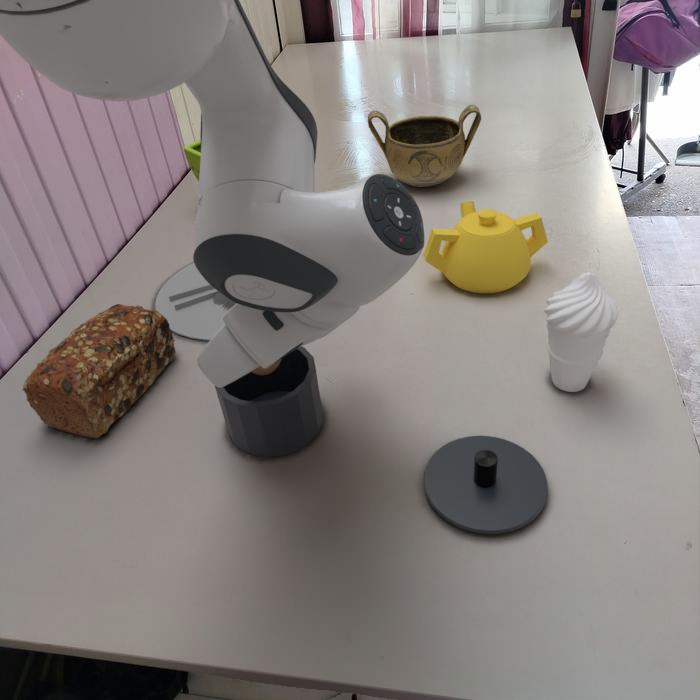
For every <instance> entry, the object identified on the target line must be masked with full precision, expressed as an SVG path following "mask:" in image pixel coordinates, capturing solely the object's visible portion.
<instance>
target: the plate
mask: <svg viewBox="0 0 700 700" xmlns="http://www.w3.org/2000/svg"><path fill="white" fill-rule="evenodd" d="M234 304H235V302H233V301H232V300H230V299H229V298H227V297H226V296H224V295H223V294H221V293H220V292H219V291H217V290H216V289H215V288H214V287H212V286H211V285H210V284H209V283H208V282H207V281H206V280H205V279H204V277H203V276H202V275H201V274H200V272H199V271H198V269H197V268H196V266H195V264H194V262H192V263H190V264H188V265H186V266H185V267H183V268H181V269H180V270H179V271H178V272H176V273H175V274H173V275H172V276H171V277H170V278H169V279H168V280H167V281H166V282H165V283H164V284H163V285H162V287H161V288H160V289H159V291H158V293H157V295H156V299H155V302H154V308H155V309H154V310H156V311H158V312H159V313H161V314H162V315H163V316H164V317H165V318H166V319H167V321H168V323H169V325H170V326H169V328H170V330H171V331H172V333H174V334H176V335H179V336H182V337H184V338H188V339H193V340H197V341H205V342H209V341H210V340H211V338H212V337H213V336H214V335H215V333H216V332H217V331H218V330H219V329H220V328H221V327H222V326H223V325H224V324H225V322H224V320H223V315H224V314H225V313H226V312H227V311H228V310H229V309H230V308H231V307H232V306H233V305H234Z"/></svg>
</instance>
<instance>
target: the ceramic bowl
mask: <svg viewBox="0 0 700 700" xmlns="http://www.w3.org/2000/svg"><path fill="white" fill-rule="evenodd" d="M473 113H474V114H475V116H474V119H473V121H472V124H471V125H470V128H469V130H468V132H467V136H466V135H465V131H464V122H465V120H466V119H467V117H468V116H469V115H471V114H473ZM374 118H378V119H379V120H380V121H381V122H382V123H383V125H384V127H385V137H384V141H383V139H382V137H381V135H380V134H379V132H378V130H377V129H376V127H375V125H374V123H373V121H372V119H374ZM481 121H482V114H481V111H480V109H479V107H478V106H477V105H475V104H469V105H467V106H465V108H464V109H463V110H462V111H461V112H460V115H459V117H458V121H457V120H456V119H453V118H450V117H446V116H441V115H418V116H412V117H407V118H402V119H400V120H397V121H395V122H394V123H393V122H392V123H391V124H390V125H389V120H388V118H387V117H386V116H385V114H384V113H382V112H381V111H379V110H371V111H370V112H369V113H368V116H367V125H368V129H369V131H370V132H371V134H372V135H373V137H374V139H375V140H376V142H377V144H378V146H379V147H380V149H381V151H382V153H383V155H384V156H385V159H386V161H387V164H388V167H389V169H390V171H391V173H392V174H393V175H394V176H395V177H396V179H398V181H401V182H402V183H404V184H406V185H409V186H411V187H416V188H428V187H429V188H430V187H433V186H437V185H440V184H442V183H444V182H446V181H447V180H449V179H451V177H453V176H454V174H455V173H456V172H457V171H458V169H459V168H460V166H461V165H462V163H463V161H464V158H465V155H466V154H467V152H468V150H469V148H470V146H471V144H472V142H473V139H474V137H475V135H476V133H477V131H478V128H479V126H480V124H481Z"/></svg>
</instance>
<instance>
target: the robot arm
mask: <svg viewBox="0 0 700 700" xmlns="http://www.w3.org/2000/svg"><path fill="white" fill-rule="evenodd" d="M0 36H1V37H2V38H3V40H4V41H5V42H6V43H7V44H8V45H9V46H10V47H11V49H12V50H14V51H15V52H16V53H17V55H18V56H20V57H21V58H22V59H23V61H25V62H26V63H27V64H28V65H29V66H30V67H32V68H33V69H34V70H35V71H37V72H38V73H39V74H40V75H42V76H43V77H44V78H45V79H47V80H48V81H50V82H51V83H53V84H54V85H55V86H57V88H60V89H61V90H64V91H66V92H69V93H71V94H74V95H78V96H81V97H85V98H89V99H94V100H98V101H107V102H131V101H138V100H144V99H149V98H152V97H155V96H159V95H162V94H163V93H167V92H170V91H171V90H173V89H176V88H177V87H179V86H181V85H183V84H185V86H186V88H188V91H190V93H191V94H192V95H193V97H194V98H195V100H196V101H197V103H198V105H199V108H200V140H201V159H200V174H199V181H198V189H197V203H196V208H195V209H196V211H195V223H194V224H195V226H194V240H193V241H194V243H193V256H192V257H193V258H192V259H193V260H192V261H193V263H194V264H195V266H196V268H197V269H198V271H199V272H200V274H201V275H202V276H203V277H204V279H205V280H206V281H207V282H208V283H209V284H210V285H211V286H212V287H214V288H215V289H216V290H217V291H219V292H220V293H221V294H223V295H224V296H226V297H227V298H229V299H230V300H232V301H233V302H235V304H234V305H233V306H232V307H231V308H230V309H229V310H228V311H227V312H226V313H225V314H224V315H223V320H224V322H225V324H224V325H223V326H222V327H221V328H220V329H219V330H218V331H217V332H216V333H215V335H214V336H213V337H212V338H211V340H210V341H207V344H206V345H205V346H204V348H203V349H202V350H201V352H200V354H199V355H198V357H197V359H196V363H197V366H198V367H199V369H200V371H201V372H202V373H203V374H204V375H205V377H206V378H207V380H209V381H210V382H211V384H212V385H214V387H215V386H216V387H224V386H226V385H228V384H230V383H232V382H234V381H236V380H237V379H239V378H241V377H243V376H244V375H246V374H248V373H250V372H251V371H253V370H255V369H256V368H258V367H259V366H261V367H262V368H264V369H266V368H268V367H270V366H271V365H272V364H274V363H276V362H278V361H279V360H280V359H282V358H283V357H284V356H286V355H287V354H289V353H291V352H292V351H294V350H296V349H297V348H299V347H301V346H302V347H304V346H306V345H308V344H312V343H314V342H315V341H317V340H320V339H322V338H325V337H326V336H328V335H330V333H332V332H333V331H334V330H336V329H337V328H338V327H340V326H341V325H343V324H345V322H347V321H348V320H349V319H350V318H352V317H353V316H354V315H355V314H356V313H357V312H358V311H359V310H360V308H361V307H362V306H366V305H368V304H370V303H372V302H374V301H375V300H377V299H378V298H379V297H381V296H383V294H385V293H386V292H387V291H389V290H390V289H391V288H393V286H395V285H396V284H397V283H398V282H399V281H400V280H401V279H402V278H404V276H406V275H407V273H409V271H410V270H411V269H412V268H413V267H414V265H415V264H416V263H417V261H418V260H419V257H420V256H421V255H422V252H423V250H424V247H425V226H424V219H423V216H422V211H421V209H420V207H419V206H418V203H417V201H416V199H415V198H414V197H413V195H412V194H411V192H410V191H409V190H408V189H407V188H406V186H404V185H403V184H402V183H401V182H400V180H397V178H395V177H392V175H391V176H390V175H388V174H385V173H373V174H370V175H367V176H365V177H363V178H361V179H360V180H357V182H355V183H354V184H352V185H350V186H349V185H348V186H347V187H343V188H339V189H334V190H327V191H315V190H316V189H315V165H316V158H317V146H318V145H317V144H318V127H317V122H316V120H315V117H314V115H313V113H312V111H311V110H310V109H309V107H308V106H307V105H306V104H305V102H304V101H303V100H302V99H301V98H300V97H299V96H298V95H297V94H296V93H295V92H294V91H293V90H292V89H291V88H290V87H289V86H287V84H286V83H285V82H284V81H283V80H282V79H281V78H280V76H279V75H278V74H277V73H276V72H275V70H274V69H273V67H272V65H271V63H270V62H269V59H268V58H267V56H266V54H265V52H264V49H263V47H262V45H261V44H260V41H259V39H258V37H257V35H256V33H255V30H254V29H253V27H252V25H251V22H250V20H249V17H248V16H247V14H246V11H245V9H244V8H243V6H242V3H241V1H240V0H0Z"/></svg>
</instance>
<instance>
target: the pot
mask: <svg viewBox="0 0 700 700" xmlns="http://www.w3.org/2000/svg"><path fill="white" fill-rule="evenodd" d="M214 389H215V392H216V395H217V399H218V402H219V404H220V408H221V412H222V416H223V419H224V422H225V426H226V429H227V432H228V435H229V436H230V439H231V441H232V442H233V444H234V445H235V446H236V447H237V448H238V449H239V450H241V451H242V452H244V453H246V454H249V455H251V456H255V457H261V458H274V457H282V456H286V455H289V454H292V453H294V452H296V451H299V450H301V449H302V448H304V447H306V446H307V445H308V444H309V443H310V442H312V441H313V440H314V439H315V438H316V436H318V434H319V432H320V431H321V428H322V425H323V422H324V413H323V411H324V410H323V406H322V400H321V394H320V387H319V381H318V374H317V368H316V363H315V358H314V356H313V355H312V354H311V352H310V351H308V349H306V347H304V346H301V347H299V348H297V349H296V350H294V351H292V352H291V353H289V354H287V355H286V356H284V357H283V358H282V359H281V362H280V364H279V366H278V367H277V368H276V369H275V370H274V371H273V372H272V373H270V374H268V375H257V374H255V373H253V372H250V373H248V374H246V375H244V376H243V377H241V378H239V379H237V380H236V381H234V382H232V383H230V384H228V385H226V386H224V387H216V386H215V385H214Z"/></svg>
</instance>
